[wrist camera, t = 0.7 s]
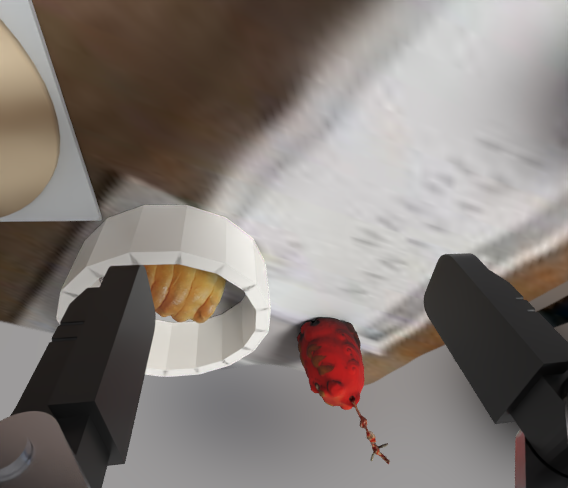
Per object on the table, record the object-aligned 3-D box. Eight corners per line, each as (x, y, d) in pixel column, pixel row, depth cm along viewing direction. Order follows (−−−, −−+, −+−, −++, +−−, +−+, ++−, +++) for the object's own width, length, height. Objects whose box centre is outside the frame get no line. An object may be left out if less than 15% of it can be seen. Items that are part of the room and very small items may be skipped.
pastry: (108, 279, 32) (96, 312, 29) (133, 229, 29) (122, 260, 26) (202, 307, 36) (200, 338, 33) (233, 266, 33) (233, 296, 30)
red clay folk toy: (285, 325, 40) (307, 475, 29) (340, 302, 38) (387, 451, 27) (312, 353, 44) (341, 491, 33) (362, 333, 43) (410, 471, 32)
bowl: (52, 205, 26) (19, 254, 22) (269, 204, 28) (276, 249, 24) (107, 332, 37) (92, 382, 32) (261, 324, 39) (265, 369, 35)
